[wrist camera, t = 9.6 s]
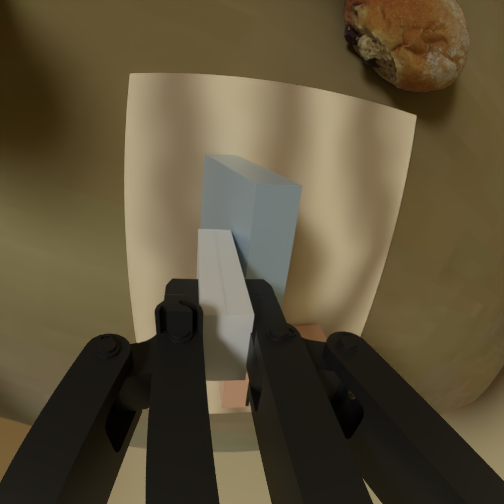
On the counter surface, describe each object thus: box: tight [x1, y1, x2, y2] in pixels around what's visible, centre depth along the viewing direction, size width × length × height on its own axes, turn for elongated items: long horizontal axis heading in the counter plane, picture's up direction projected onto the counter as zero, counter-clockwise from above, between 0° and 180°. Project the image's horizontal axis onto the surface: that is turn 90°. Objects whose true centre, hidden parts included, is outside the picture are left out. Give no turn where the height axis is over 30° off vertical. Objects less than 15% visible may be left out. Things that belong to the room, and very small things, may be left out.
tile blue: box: [200, 154, 302, 308], centre depth 17 cm, size 2×8×8 cm, turn 174°
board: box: [124, 73, 417, 414], centre depth 24 cm, size 20×30×1 cm, turn 174°
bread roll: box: [344, 0, 469, 92], centre depth 16 cm, size 10×10×8 cm
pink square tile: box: [220, 325, 327, 408], centre depth 26 cm, size 2×8×8 cm
